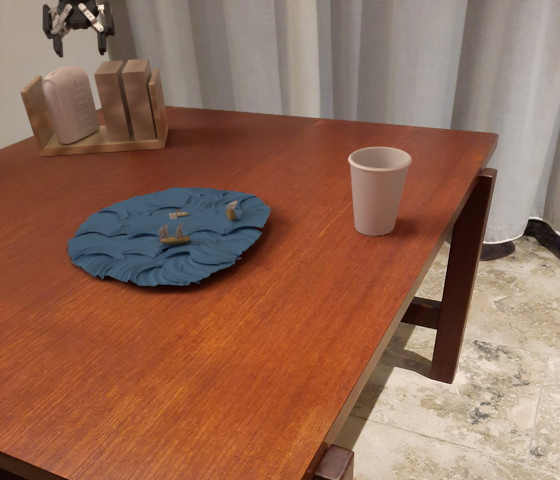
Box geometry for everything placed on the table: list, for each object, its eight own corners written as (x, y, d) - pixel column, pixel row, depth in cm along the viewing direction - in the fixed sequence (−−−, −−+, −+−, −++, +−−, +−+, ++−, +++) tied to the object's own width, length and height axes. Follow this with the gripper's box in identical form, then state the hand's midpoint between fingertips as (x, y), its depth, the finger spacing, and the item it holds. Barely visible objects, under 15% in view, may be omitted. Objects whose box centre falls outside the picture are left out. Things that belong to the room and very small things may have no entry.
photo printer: (86, 127, 115) (69, 60, 107) (103, 129, 114) (88, 61, 106) (54, 143, 108) (33, 73, 100) (72, 145, 107) (52, 75, 99)
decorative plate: (69, 321, 67) (54, 285, 63) (71, 215, 89) (60, 183, 85) (302, 271, 71) (300, 235, 68) (249, 181, 93) (246, 150, 90)
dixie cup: (335, 232, 79) (337, 162, 73) (359, 210, 84) (363, 142, 78) (390, 245, 76) (398, 173, 69) (412, 220, 81) (421, 151, 74)
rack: (40, 156, 107) (16, 80, 98) (54, 136, 116) (33, 64, 107) (164, 148, 108) (151, 71, 99) (168, 128, 117) (157, 57, 108)
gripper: (34, -32, 112) (38, 44, 111) (105, -36, 113) (110, 40, 112) (48, -5, 120) (52, 67, 118) (115, -8, 120) (119, 63, 119)
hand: (80, 54), depth 115 cm, fingers open, 8 cm apart
